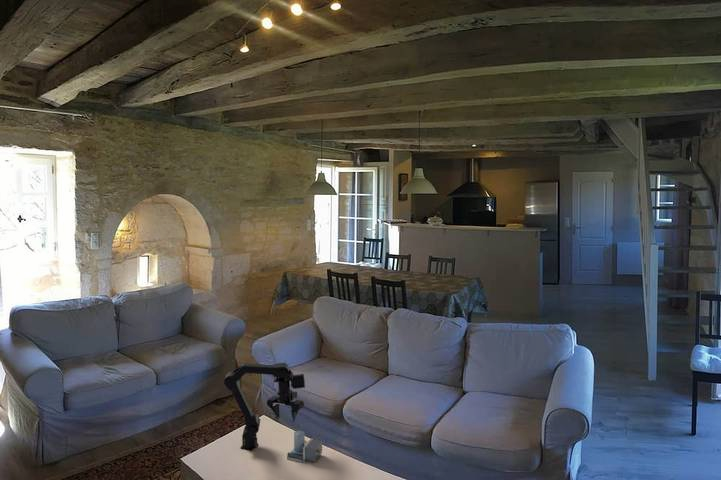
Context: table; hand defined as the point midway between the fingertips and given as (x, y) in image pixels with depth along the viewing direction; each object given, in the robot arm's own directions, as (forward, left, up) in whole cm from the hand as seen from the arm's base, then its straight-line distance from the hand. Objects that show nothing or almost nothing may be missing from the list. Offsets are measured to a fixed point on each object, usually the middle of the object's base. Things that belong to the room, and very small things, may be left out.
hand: (286, 419), depth 241 cm
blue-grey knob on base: (+10, -6, -12) cm, 17 cm away
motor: (+14, -6, -13) cm, 20 cm away
